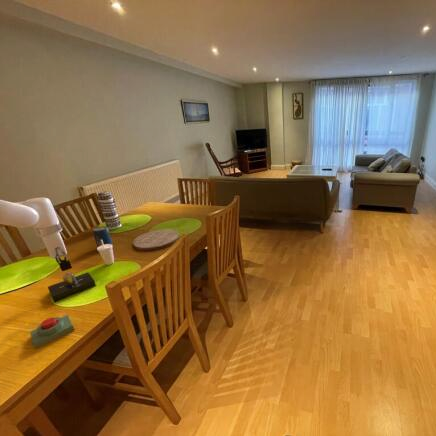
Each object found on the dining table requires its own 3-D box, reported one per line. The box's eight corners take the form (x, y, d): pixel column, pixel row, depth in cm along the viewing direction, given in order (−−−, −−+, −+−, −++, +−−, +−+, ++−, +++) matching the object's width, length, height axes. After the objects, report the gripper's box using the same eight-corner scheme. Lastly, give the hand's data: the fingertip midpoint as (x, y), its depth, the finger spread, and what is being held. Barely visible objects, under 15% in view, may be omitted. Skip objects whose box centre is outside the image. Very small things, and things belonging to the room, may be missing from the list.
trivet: (187, 233, 158) (187, 230, 157) (162, 252, 135) (161, 249, 134) (153, 230, 162) (153, 228, 161) (123, 248, 139) (122, 245, 138)
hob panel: (54, 302, 98) (51, 296, 96) (50, 292, 104) (47, 286, 102) (96, 285, 108) (94, 280, 106) (90, 277, 114) (88, 271, 112)
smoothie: (99, 267, 121) (91, 242, 116) (106, 260, 127) (98, 236, 122) (114, 265, 123) (106, 241, 117) (119, 259, 128) (112, 235, 123)
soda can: (113, 243, 145) (107, 225, 140) (112, 247, 140) (106, 229, 135) (98, 246, 141) (92, 227, 137) (98, 251, 136) (91, 232, 132)
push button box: (35, 349, 78) (30, 340, 76) (32, 336, 83) (27, 327, 81) (75, 330, 85) (71, 321, 84) (69, 319, 90) (66, 310, 88)
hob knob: (77, 283, 105) (73, 273, 103) (66, 287, 102) (62, 277, 100) (75, 279, 107) (71, 270, 105) (65, 283, 104) (61, 274, 102)
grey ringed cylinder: (123, 226, 168) (113, 192, 158) (107, 230, 161) (96, 195, 152) (120, 222, 173) (110, 189, 164) (104, 226, 167) (93, 192, 158)
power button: (43, 331, 80) (41, 327, 79) (42, 325, 82) (40, 322, 82) (58, 324, 83) (56, 320, 82) (56, 319, 85) (54, 315, 84)
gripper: (32, 226, 97) (48, 261, 104) (38, 238, 87) (56, 277, 94) (56, 220, 102) (71, 254, 109) (65, 231, 92) (81, 268, 99)
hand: (64, 265), depth 101 cm, fingers open, 9 cm apart
